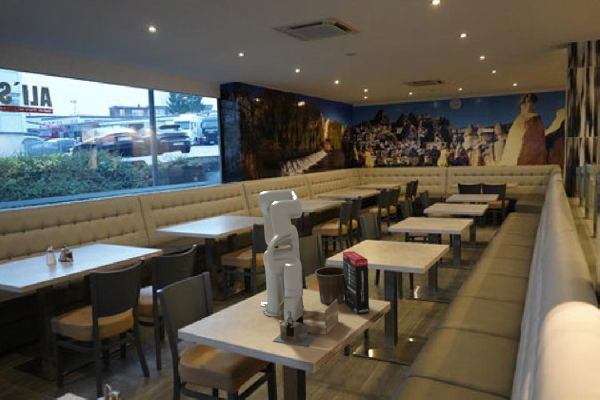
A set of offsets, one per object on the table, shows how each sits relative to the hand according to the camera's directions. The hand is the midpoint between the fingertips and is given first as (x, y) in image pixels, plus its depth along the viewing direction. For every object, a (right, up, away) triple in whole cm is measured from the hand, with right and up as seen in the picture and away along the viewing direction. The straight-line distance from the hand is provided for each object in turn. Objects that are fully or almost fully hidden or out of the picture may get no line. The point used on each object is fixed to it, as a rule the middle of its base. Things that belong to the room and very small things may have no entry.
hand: (295, 331), depth 190 cm
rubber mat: (0, -3, 0) cm, 3 cm away
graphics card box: (+29, +1, +33) cm, 44 cm away
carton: (+6, -2, +14) cm, 16 cm away
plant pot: (+19, +2, +45) cm, 49 cm away
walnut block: (-1, -3, +1) cm, 3 cm away
